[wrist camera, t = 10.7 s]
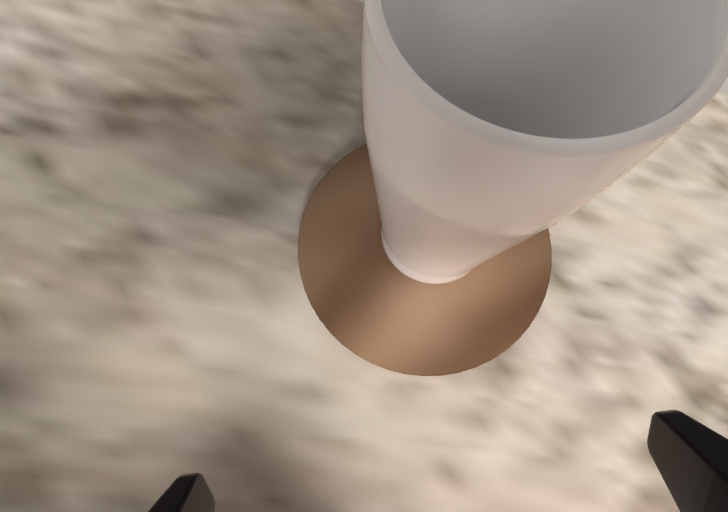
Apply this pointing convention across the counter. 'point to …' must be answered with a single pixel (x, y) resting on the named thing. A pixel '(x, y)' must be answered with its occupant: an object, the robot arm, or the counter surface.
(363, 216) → the walnut coaster
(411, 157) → the white tapered cylinder
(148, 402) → the counter surface
